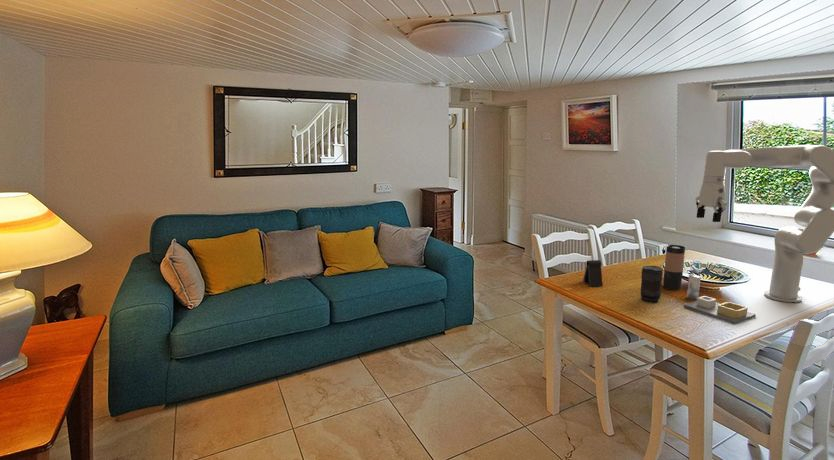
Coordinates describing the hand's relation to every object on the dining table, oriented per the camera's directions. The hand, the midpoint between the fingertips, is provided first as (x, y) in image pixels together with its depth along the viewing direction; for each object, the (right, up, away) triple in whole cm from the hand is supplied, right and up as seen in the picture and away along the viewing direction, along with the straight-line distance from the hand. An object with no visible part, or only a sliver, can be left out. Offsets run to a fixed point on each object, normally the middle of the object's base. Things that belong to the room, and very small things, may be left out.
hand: (708, 219), depth 189 cm
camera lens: (-24, -36, +3) cm, 43 cm away
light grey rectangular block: (-3, -35, +5) cm, 35 cm away
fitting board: (-3, -38, -11) cm, 40 cm away
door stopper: (-40, -31, +26) cm, 57 cm away
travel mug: (-5, -32, +19) cm, 38 cm away
